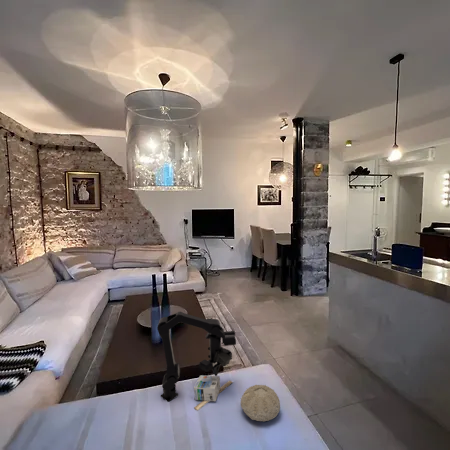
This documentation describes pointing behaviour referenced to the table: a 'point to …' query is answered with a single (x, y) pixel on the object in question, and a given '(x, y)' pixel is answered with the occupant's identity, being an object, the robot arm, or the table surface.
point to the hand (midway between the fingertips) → (215, 375)
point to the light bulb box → (207, 388)
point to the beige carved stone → (260, 403)
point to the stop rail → (218, 393)
